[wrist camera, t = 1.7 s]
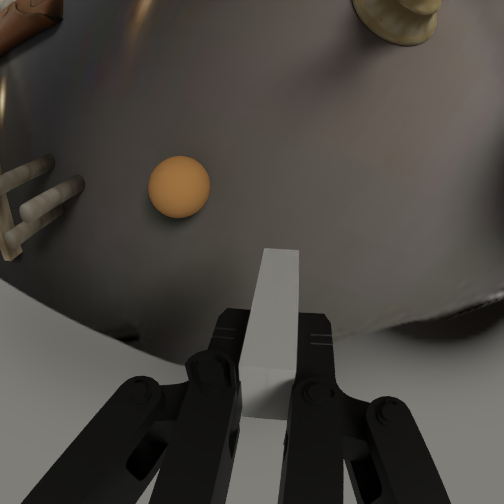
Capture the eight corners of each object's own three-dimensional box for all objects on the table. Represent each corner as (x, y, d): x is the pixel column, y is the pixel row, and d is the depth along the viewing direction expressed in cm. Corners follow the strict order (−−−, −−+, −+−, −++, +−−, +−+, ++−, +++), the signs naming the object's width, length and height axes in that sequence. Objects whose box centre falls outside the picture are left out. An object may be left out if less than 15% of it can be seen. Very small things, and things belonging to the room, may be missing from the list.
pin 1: (43, 155, 28) (-11, 179, 21) (53, 153, 28) (-2, 177, 20) (45, 171, 29) (-7, 197, 22) (55, 169, 29) (2, 196, 21)
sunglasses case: (68, -33, 16) (33, -20, 13) (82, 8, 22) (50, 27, 19) (-13, 24, 18) (-43, 45, 15) (1, 55, 25) (-26, 79, 21)
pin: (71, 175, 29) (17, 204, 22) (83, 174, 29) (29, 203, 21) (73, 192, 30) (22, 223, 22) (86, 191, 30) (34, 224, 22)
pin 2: (51, 201, 31) (2, 232, 24) (61, 200, 31) (12, 232, 23) (54, 215, 32) (8, 248, 24) (64, 215, 32) (17, 249, 24)
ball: (160, 152, 27) (133, 165, 22) (215, 150, 26) (197, 162, 22) (166, 204, 30) (142, 227, 25) (218, 205, 29) (202, 229, 24)
